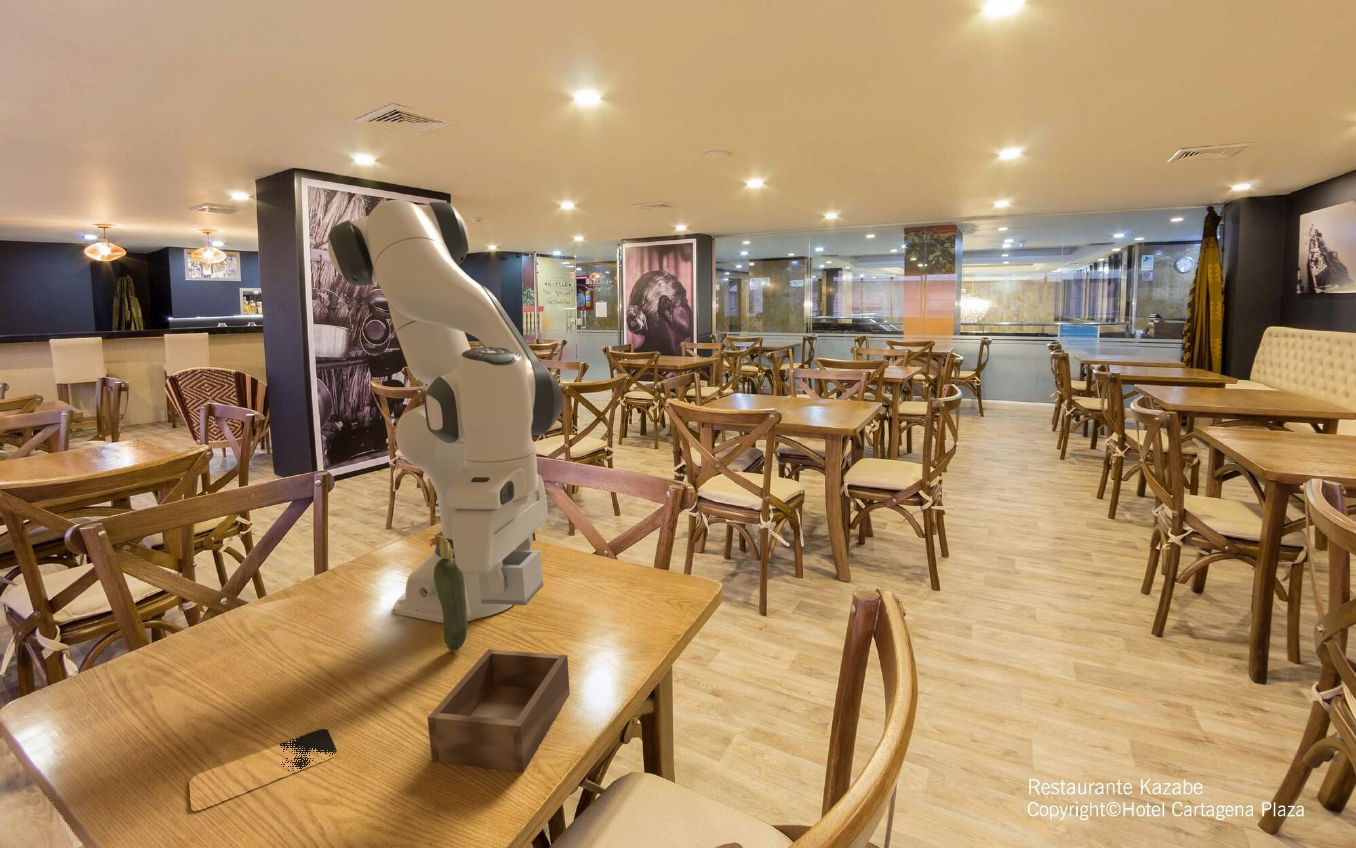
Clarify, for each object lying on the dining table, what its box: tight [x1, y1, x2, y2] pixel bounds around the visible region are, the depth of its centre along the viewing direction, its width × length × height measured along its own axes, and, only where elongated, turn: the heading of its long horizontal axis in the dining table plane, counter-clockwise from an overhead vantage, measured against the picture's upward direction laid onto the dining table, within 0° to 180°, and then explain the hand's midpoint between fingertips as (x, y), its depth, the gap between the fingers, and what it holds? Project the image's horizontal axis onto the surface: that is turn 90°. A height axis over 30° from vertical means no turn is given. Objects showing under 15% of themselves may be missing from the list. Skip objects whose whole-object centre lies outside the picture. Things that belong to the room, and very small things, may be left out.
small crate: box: [478, 549, 544, 606], centre depth 86 cm, size 6×6×5 cm
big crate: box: [426, 648, 570, 772], centre depth 87 cm, size 12×16×6 cm
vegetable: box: [433, 535, 468, 654], centre depth 104 cm, size 4×4×20 cm
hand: (511, 579), depth 86 cm, fingers closed on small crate, 6 cm apart
